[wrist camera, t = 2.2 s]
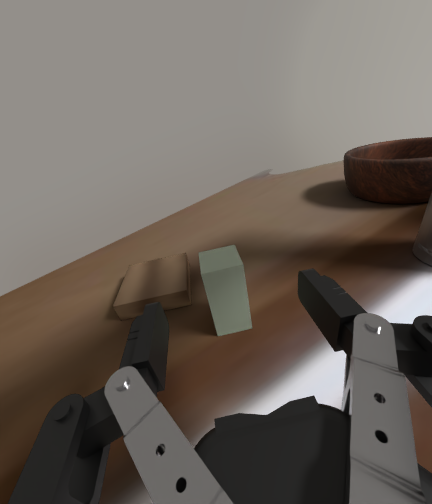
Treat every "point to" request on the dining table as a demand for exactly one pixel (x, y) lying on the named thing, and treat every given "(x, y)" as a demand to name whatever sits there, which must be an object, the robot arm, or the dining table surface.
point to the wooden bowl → (391, 171)
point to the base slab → (154, 286)
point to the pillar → (226, 289)
